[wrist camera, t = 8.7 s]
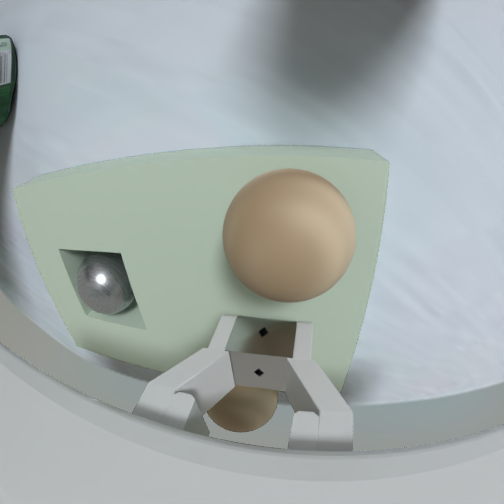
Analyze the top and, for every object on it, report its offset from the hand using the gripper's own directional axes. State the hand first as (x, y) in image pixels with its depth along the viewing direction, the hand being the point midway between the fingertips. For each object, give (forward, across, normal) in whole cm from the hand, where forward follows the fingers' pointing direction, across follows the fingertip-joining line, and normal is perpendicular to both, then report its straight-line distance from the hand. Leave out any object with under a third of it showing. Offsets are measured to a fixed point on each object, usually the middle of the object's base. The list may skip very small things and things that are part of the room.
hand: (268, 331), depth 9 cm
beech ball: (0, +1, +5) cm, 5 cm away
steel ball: (+2, +9, +1) cm, 9 cm away
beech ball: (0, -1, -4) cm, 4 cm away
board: (+4, +5, +1) cm, 7 cm away
